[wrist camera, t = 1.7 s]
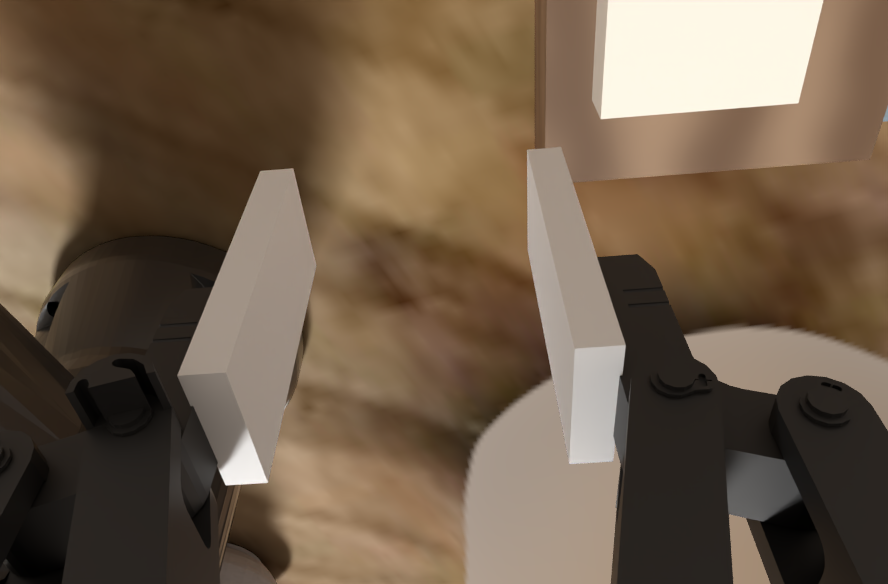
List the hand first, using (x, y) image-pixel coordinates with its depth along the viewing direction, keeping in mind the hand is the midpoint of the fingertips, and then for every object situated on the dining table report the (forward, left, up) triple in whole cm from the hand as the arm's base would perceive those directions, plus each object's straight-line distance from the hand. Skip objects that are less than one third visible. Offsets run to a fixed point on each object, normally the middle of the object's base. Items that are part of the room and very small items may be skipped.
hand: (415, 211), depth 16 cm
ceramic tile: (+11, 0, -15) cm, 18 cm away
